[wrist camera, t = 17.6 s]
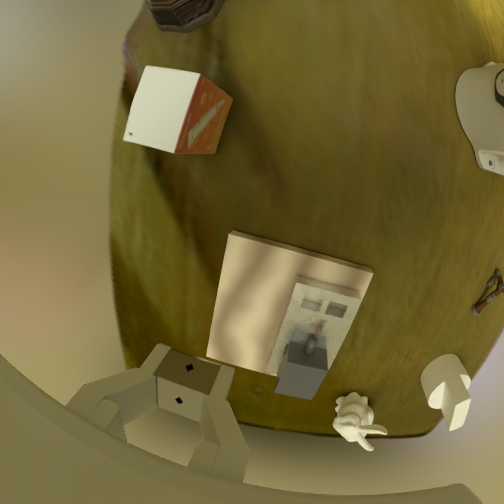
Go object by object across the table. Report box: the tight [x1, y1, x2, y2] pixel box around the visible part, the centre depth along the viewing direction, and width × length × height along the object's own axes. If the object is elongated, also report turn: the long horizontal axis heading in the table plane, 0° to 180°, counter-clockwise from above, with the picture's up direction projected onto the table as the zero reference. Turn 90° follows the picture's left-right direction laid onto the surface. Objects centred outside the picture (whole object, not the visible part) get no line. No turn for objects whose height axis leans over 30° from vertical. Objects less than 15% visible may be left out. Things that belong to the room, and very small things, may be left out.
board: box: [206, 230, 373, 376], centre depth 41 cm, size 20×22×2 cm
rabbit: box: [333, 392, 387, 451], centre depth 40 cm, size 12×9×12 cm
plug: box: [274, 336, 328, 400], centre depth 37 cm, size 6×9×6 cm, turn 167°
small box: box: [123, 66, 233, 154], centre depth 28 cm, size 8×6×13 cm
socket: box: [266, 275, 362, 374], centre depth 38 cm, size 9×16×2 cm, turn 167°
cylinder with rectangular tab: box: [420, 354, 471, 431], centre depth 35 cm, size 9×9×12 cm
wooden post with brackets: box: [472, 269, 504, 316], centre depth 33 cm, size 2×8×5 cm, turn 160°
